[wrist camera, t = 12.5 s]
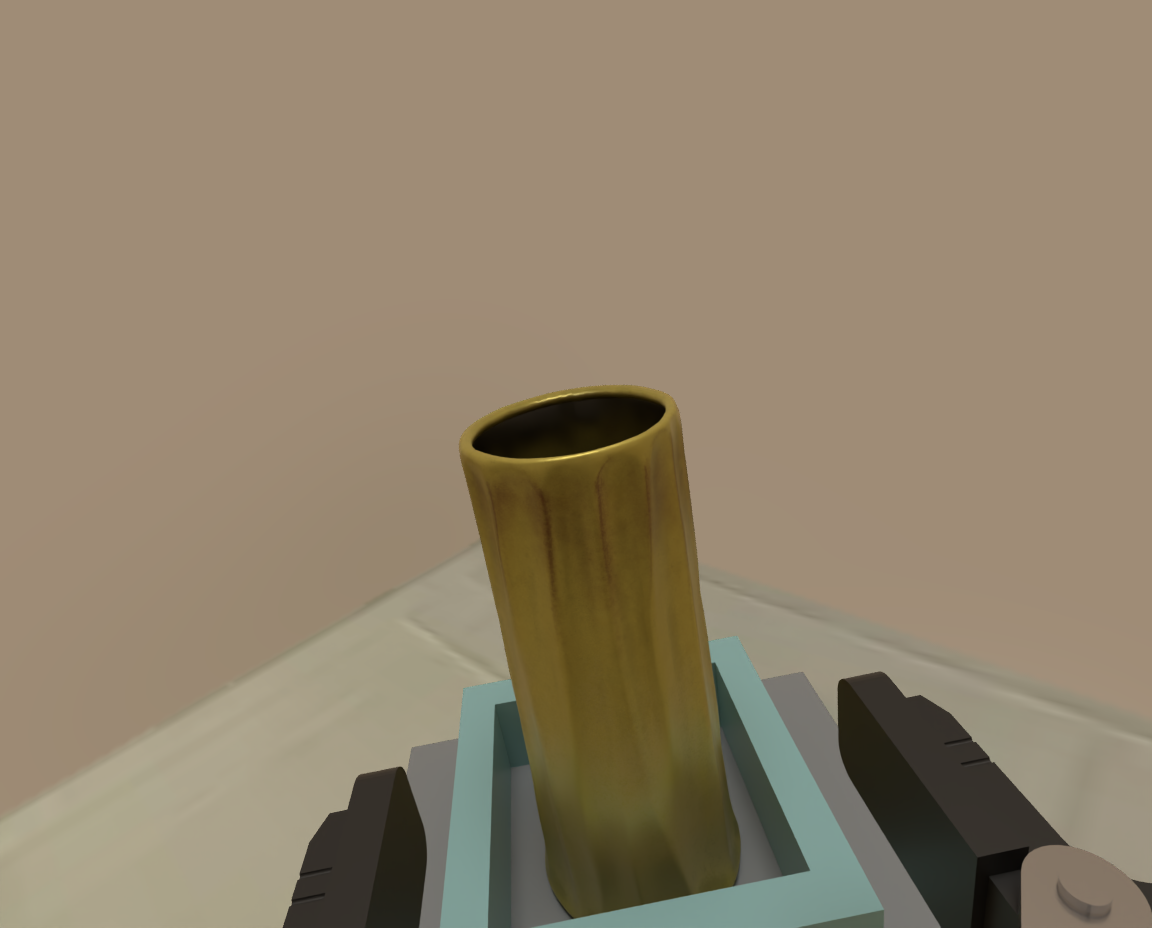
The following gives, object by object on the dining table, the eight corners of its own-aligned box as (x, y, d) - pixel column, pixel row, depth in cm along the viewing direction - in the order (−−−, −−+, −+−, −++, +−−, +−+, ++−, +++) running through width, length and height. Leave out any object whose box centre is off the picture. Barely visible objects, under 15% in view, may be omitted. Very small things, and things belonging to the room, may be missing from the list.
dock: (350, 1171, 15) (296, 1072, 14) (417, 766, 26) (392, 687, 25) (1011, 1030, 16) (1028, 920, 14) (803, 691, 27) (800, 609, 25)
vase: (723, 758, 23) (682, 367, 18) (762, 941, 17) (720, 445, 12) (553, 774, 24) (465, 399, 18) (538, 956, 18) (405, 488, 13)
